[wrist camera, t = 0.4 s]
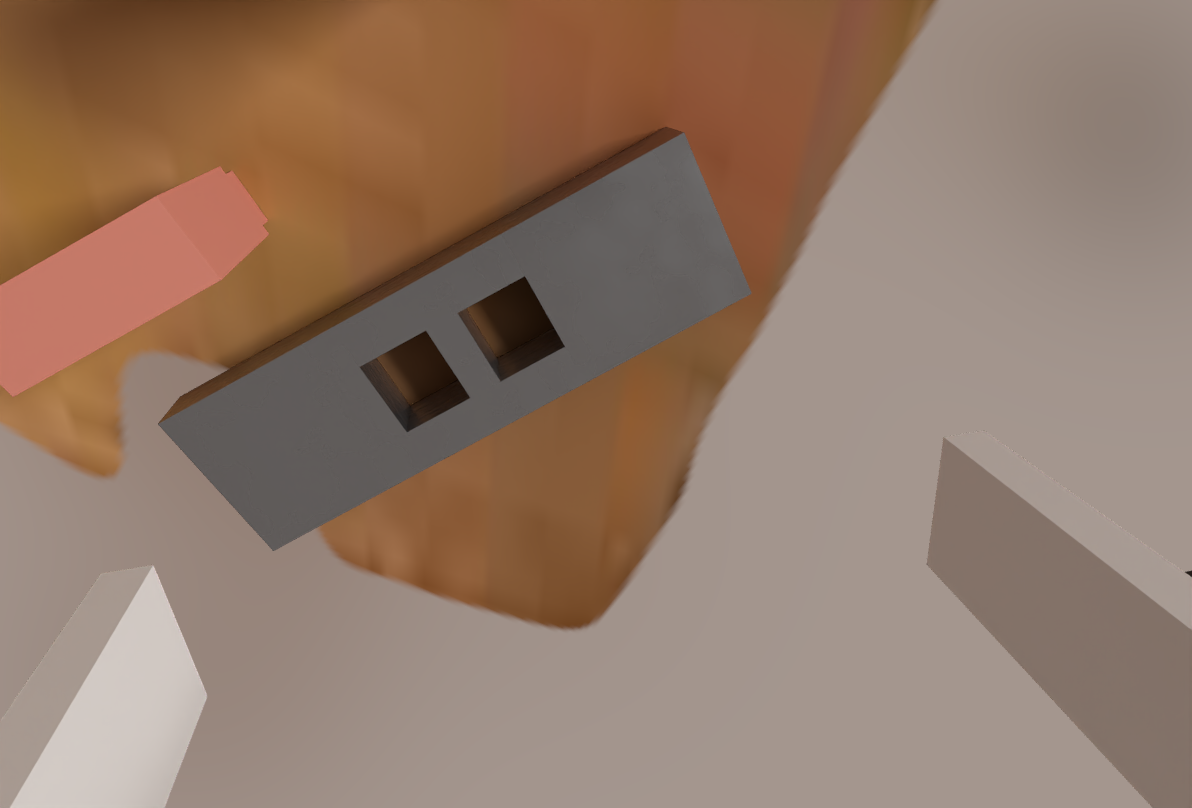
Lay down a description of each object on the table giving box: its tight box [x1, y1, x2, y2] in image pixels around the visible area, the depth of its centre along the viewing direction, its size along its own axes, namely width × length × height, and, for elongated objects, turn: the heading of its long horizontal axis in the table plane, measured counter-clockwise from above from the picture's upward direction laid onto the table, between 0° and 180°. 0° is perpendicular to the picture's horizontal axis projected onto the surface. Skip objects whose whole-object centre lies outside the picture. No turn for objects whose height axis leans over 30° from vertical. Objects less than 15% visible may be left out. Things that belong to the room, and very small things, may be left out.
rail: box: [158, 127, 751, 551], centre depth 35 cm, size 8×26×3 cm, turn 117°
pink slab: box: [0, 167, 269, 397], centre depth 28 cm, size 3×8×10 cm, turn 117°
